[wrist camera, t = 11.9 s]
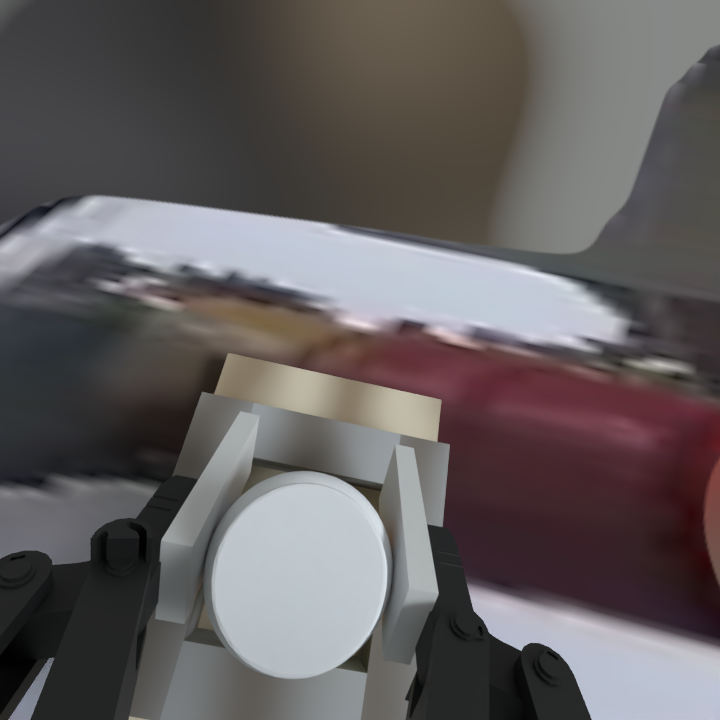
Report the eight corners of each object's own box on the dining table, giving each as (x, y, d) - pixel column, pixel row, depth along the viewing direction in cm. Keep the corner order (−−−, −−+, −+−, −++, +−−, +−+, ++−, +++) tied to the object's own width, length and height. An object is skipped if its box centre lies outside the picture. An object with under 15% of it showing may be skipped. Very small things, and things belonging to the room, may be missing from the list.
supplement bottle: (307, 661, 17) (320, 796, 8) (207, 572, 18) (116, 605, 9) (383, 543, 19) (461, 546, 10) (291, 468, 20) (288, 409, 11)
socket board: (434, 405, 25) (457, 384, 21) (373, 962, 16) (395, 1078, 12) (231, 361, 24) (220, 332, 21) (45, 916, 15) (-27, 1027, 12)
